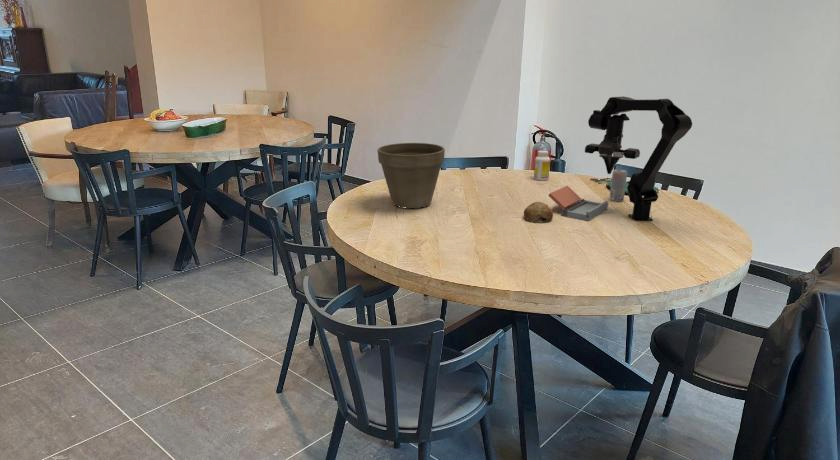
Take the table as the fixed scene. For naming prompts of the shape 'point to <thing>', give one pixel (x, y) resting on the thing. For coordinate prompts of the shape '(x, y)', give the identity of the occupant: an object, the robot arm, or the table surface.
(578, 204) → the sill
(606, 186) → the cutlery set
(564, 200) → the panel
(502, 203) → the table surface
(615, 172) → the energy drink
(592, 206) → the tray
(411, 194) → the plant pot
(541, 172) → the supplement bottle
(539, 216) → the bread roll
